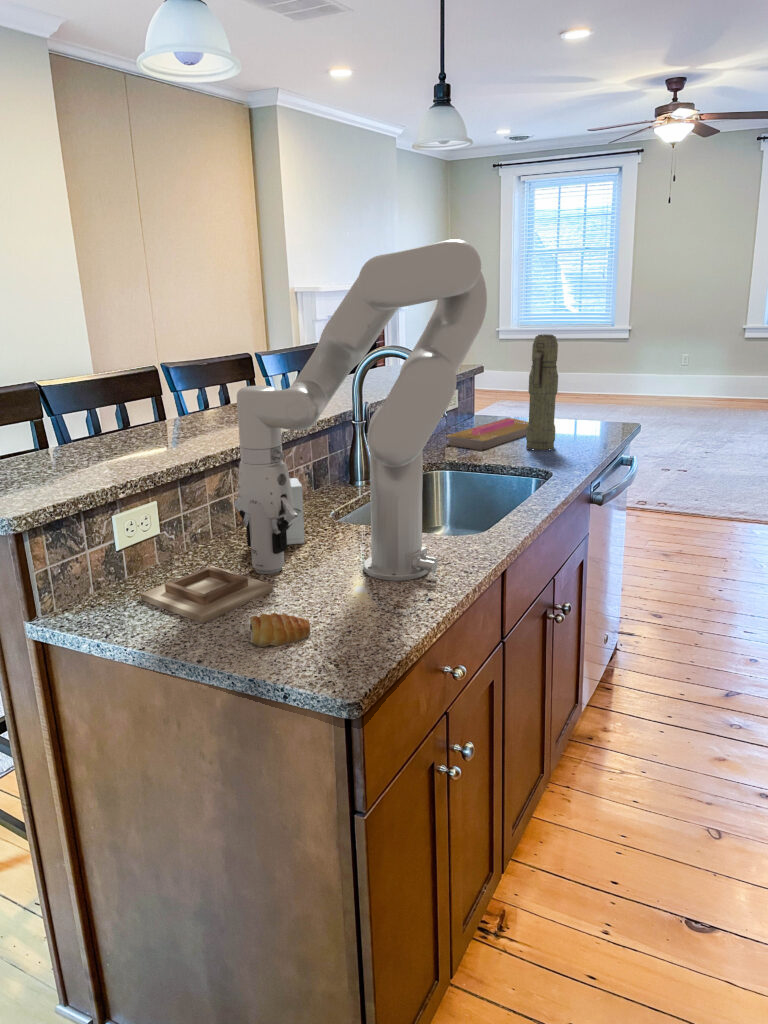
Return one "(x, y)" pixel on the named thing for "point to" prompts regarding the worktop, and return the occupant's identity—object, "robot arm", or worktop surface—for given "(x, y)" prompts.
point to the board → (206, 593)
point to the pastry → (277, 629)
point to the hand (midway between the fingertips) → (267, 547)
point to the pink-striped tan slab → (501, 429)
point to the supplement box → (297, 528)
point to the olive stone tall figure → (542, 393)
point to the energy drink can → (263, 541)
